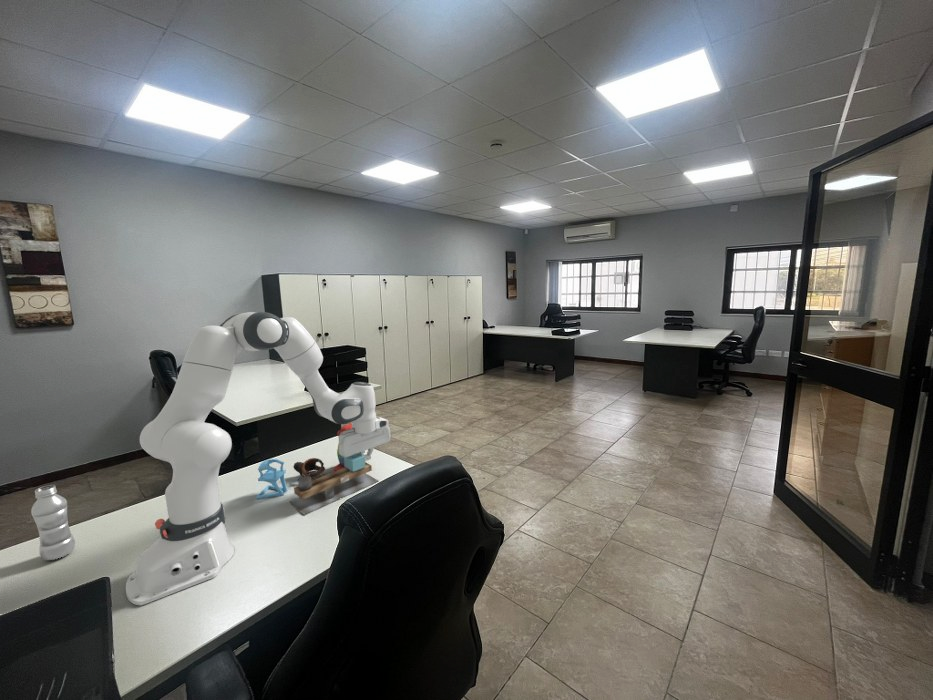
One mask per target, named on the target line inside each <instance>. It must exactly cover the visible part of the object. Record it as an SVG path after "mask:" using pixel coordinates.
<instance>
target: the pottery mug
mask: <svg viewBox="0 0 933 700" xmlns="http://www.w3.org/2000/svg"><path fill="white" fill-rule="evenodd" d="M317 463H320V466H319V465H318V464H317ZM293 469H294V471H296V472H297V473H299V476H303V477H306V476H309V477H311V481H312V480H315V479H317V478H320V477H322V476H321V475H323V474H324V472H325V471H326V467H325V463H324V462H323V460H321V459H320V458H316V457H311V458H308V459H306V460H305V461H304V462H301V461H297V462H295V463H294V464H293ZM311 471H313V472H311Z"/></svg>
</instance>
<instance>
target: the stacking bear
mask: <svg viewBox="0 0 933 700" xmlns="http://www.w3.org/2000/svg"><path fill="white" fill-rule="evenodd" d="M349 429H352V422H350V423H348V424H343V426H341V427H340V429H339V430H338V431H337V433H336V434H337V437H338V438H339V435H340V434H341V433H342V432H343V431H347V430H349ZM336 451H337V453H336V455H337V459H338V462H339V463H338V464H336V465H335V466H334V467H333V468H332V472H335V471H337V470H340V469H343V468H345V465H344V457H343V456H341V455H340V454H339V443H338V445H337V450H336Z"/></svg>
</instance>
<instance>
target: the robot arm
mask: <svg viewBox="0 0 933 700" xmlns="http://www.w3.org/2000/svg"><path fill="white" fill-rule="evenodd" d="M272 349H274V350H275V351H276V352H277V353H278V355H279V356H280V358H281V359H282V360H283V361H282V362H284V363H285V365H286V366H287V367H288V368H289V370H291V371H292V372H293V373H294V374H295V376H297V377H298V378H299V380H300V381H301V383H302V384H303V386H304V387H305V389H306V390H307V392H308V394H309V395H310V397H311V399H312V400H311V401H312V404H313V409H314V411H315V413H316V414H317V415H318V416H319V417H321V418H324V419H328V421H331V422H333V423H335V424H338V425H348V424H350V423H352V429H349V430H347V431H343V432H342V433H341V434H340V435H339V437H338V444H339V454H340V455H341V456H343V457H348V456H351V455H354V454H357V453H359V454H361V455H363V456H365V462H367V461H369V460H371V459H372V454H373V453H374V448H375V447H378V446H381V445H384V444H387V443H388V442H390V440H391V429H390V426H389V420H388V419H386V418H385V417H384V418H383V417H380V416H377V413H376V407H377V406H376V405H377V404H376V393H375V388H374V386H373V385H372V384H370V383H368V382H364V381H355V382H353V383H351V384H350V385H349V387H348V388H347V389H346V390H345V391H343V392H341V393H339V392H336V391H334V390H333V389H331V388H329V386H328V384H327V383H326V382H325V380H324V378H323V377H322V375H321V374H320V372H319V369H320V367H321V366H322V364H323V361H324V356H323V353H322V351H321V349H320V347H319V345H318V343H317V342H316V340H315V339H314V338H313V336H312V335H311V334H310V332H309V331H308V330H307V329H306V328H305V326H303V324H302V323H301V322H300V321H299V320H297V319H296V318H295V317H292V316H283V317H279V316H277V315H275V314H273V313H270V312H266V311H258V312H257V311H255V312H254V311H247V312H243V313H238V314H234V315H231V316H230V317H228V318H226V319H225V320H224V321H223V322H222V323H221V324H220V325H205V326H203V327H200V328H199V329H197V331H196V333H195V334H194V336H193V338H192V339H191V341H190V344H189V346H188V348H187V350H186V353H185V354H184V358H183V359H182V364H181V367H180V370H179V373H178V375H177V379H176V381H175V384H174V388H173V390H172V393H171V394H170V396H169V398H168V399H167V401H166V403H165V404H164V406H163V407H162V409H161V411H160V412H159V413H158V414H157V416H156V417H155V418H154V419H153V420H151V421H150V422H148V423H147V424H146V425H145V426H144V427H143V428H142V430H141V432H140V435H139V445H140V447H141V449H143V450H144V451H145V452H146V453H147V454H148V455H150V456H151V457H153V458H154V459H158V460H161V461H164V462H168V463H170V465H171V467H172V479H171V483H170V484H168V486H166V488H165V490H164V491H165V492H164V496H165V503H166V508H167V515H168V518H167V519H166V520H165V519H164V518H159V519H157V520H156V521H155V523H154V526H155V528H156V529H157V530H159V533H160V536H159V537H158V538H157V539H156V540H155V541H154V542H152V544H151V545H150V546H148V547H147V548H146V550H144V551H143V552H142V553H141V554H140V555H139V558H137V559H138V561H137V564H136V567H135V568H136V569H135V570H134V572H132V573H131V574H130V575H129V577H128V578H127V580H126V583H125V595H126V598H127V600H128V601H129V602H130V603H131V604H133V605H136V606H144V605H147V604H149V603H151V602H154V601H157V600H160V599H162V598H165V597H167V596H169V595H173V594H175V593H177V592H180V591H183V590H185V589H188V588H191V587H193V586H195V585H196V586H197V585H198V584H201V583H204V582H206V581H209V580H211V579H214V578H215V577H216V576H217V575H218V574H219V573H220V571H221V569H222V568H223V567H224V565H225V564H227V563H228V562H229V561H230V560H231V558H232V557H233V556H234V553H235V546H234V544H232V541H231V539H230V537H229V535H228V531H227V529H226V525H225V524H226V512H225V507H224V505H223V503H222V501H221V497H220V495H221V494H220V488H219V487H220V486H219V485H220V484H219V473H220V468H221V464H222V463H224V461H225V460H226V459H228V457H229V455H230V452H231V450H232V447H233V446H232V445H233V443H232V441H233V440H232V438H231V435H230V434H229V432H227V431H226V430H225V429H222V427H219V426H217V425H216V424H214V423H209V422H205V421H206V419H207V418H208V415H210V413H211V411H212V410H214V408H215V407H216V406H217V405H219V404H220V403H221V402H223V401H224V399H225V397H226V394H227V389H228V387H229V383H230V379H231V376H232V373H233V370H234V369H233V368H234V365H235V360H236V359H237V356H239V354H240V353H241V352H242V351H249V352H257V351H268V350H272ZM365 451H367V452H365ZM365 453H366V454H365Z"/></svg>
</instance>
